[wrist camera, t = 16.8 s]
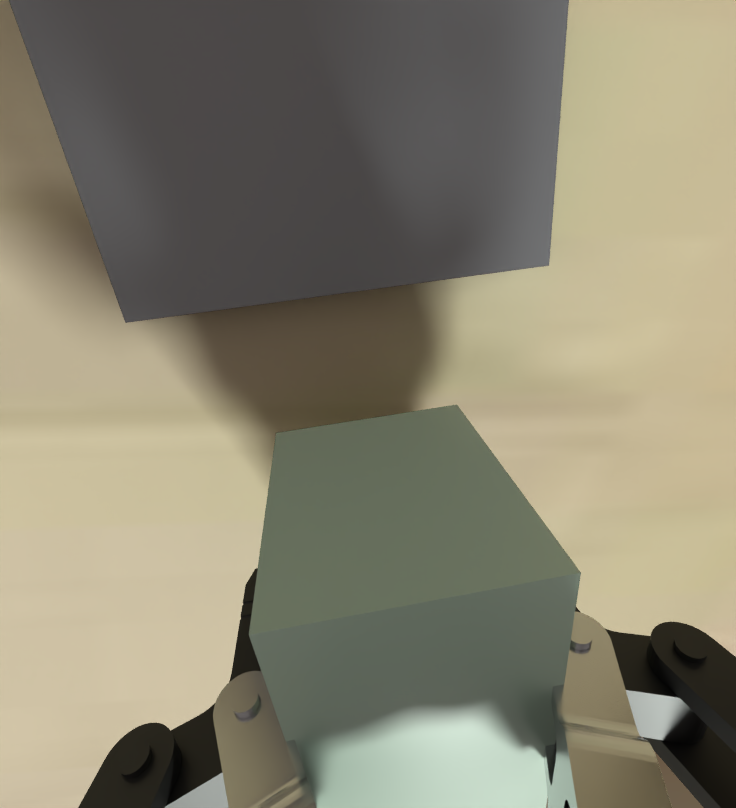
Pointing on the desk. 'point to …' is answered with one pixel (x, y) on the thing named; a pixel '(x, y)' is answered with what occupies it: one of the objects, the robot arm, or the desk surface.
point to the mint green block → (410, 615)
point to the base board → (302, 141)
